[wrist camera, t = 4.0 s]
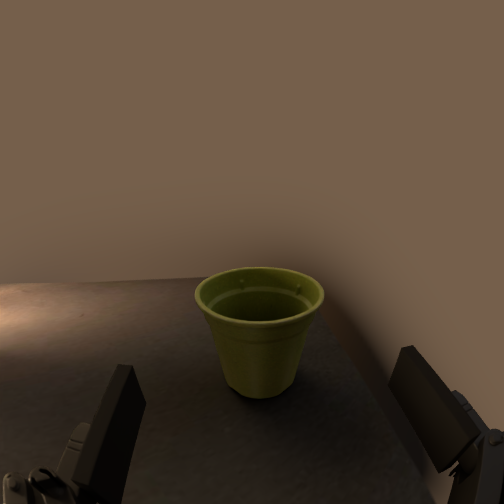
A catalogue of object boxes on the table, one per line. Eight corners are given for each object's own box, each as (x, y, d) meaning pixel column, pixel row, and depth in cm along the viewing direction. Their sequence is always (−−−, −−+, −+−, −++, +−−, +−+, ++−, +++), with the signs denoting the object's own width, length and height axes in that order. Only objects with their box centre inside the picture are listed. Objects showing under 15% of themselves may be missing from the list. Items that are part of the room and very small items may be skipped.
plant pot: (210, 346, 27) (202, 267, 24) (301, 341, 27) (307, 263, 25) (202, 415, 18) (185, 325, 15) (324, 407, 19) (343, 317, 16)
